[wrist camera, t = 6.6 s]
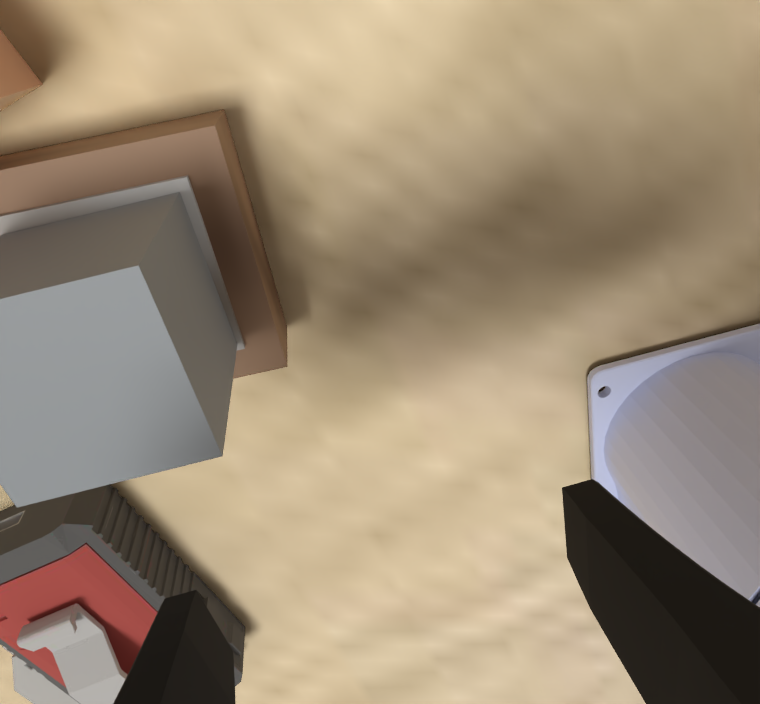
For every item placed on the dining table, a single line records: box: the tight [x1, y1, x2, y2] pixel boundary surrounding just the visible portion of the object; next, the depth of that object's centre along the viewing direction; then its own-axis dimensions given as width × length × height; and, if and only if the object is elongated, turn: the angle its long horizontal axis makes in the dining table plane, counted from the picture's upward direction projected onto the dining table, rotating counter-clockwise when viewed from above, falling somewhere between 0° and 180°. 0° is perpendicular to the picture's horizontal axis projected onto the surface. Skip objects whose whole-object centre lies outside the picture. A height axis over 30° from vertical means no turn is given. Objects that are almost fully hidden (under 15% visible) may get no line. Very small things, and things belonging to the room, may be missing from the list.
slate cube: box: [0, 192, 237, 507], centre depth 14 cm, size 4×4×5 cm
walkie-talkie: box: [0, 485, 245, 704], centre depth 25 cm, size 9×4×20 cm
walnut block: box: [0, 110, 287, 378], centre depth 17 cm, size 7×7×3 cm
